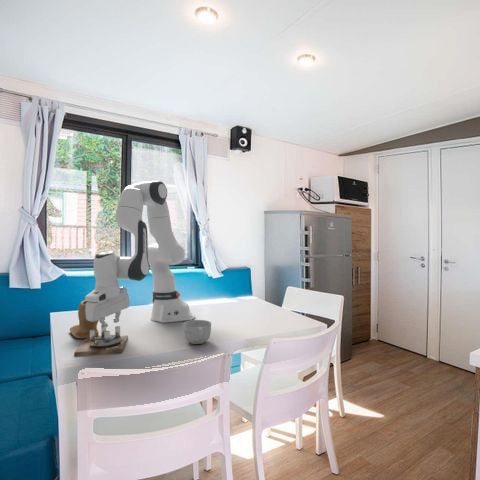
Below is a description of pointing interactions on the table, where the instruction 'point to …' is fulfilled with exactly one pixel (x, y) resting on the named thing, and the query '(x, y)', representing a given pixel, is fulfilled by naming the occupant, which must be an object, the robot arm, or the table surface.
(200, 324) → the teacup
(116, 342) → the grey pegged disc
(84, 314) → the tan boot
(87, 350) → the stand board
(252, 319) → the table surface
